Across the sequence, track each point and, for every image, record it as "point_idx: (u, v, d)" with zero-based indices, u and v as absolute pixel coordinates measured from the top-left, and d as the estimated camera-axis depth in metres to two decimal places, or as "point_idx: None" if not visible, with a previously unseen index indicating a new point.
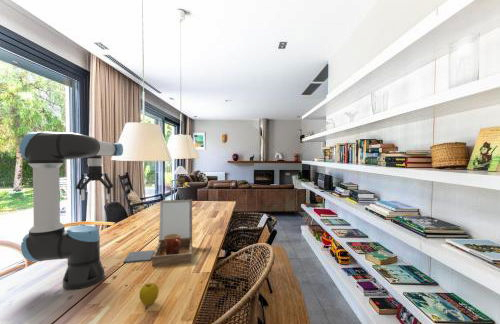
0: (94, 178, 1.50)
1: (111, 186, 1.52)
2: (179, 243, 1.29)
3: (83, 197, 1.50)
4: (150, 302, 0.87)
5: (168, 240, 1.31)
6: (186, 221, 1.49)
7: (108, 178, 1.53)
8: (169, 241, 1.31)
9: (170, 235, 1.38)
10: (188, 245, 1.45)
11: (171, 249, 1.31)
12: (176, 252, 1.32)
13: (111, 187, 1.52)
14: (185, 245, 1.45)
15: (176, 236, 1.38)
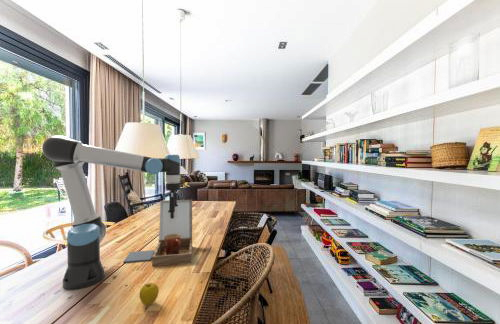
0: None
1: (169, 210, 1.24)
2: (179, 243, 1.29)
3: None
4: (150, 302, 0.87)
5: (168, 240, 1.31)
6: (186, 221, 1.49)
7: (172, 199, 1.26)
8: (169, 241, 1.31)
9: (170, 235, 1.38)
10: (188, 245, 1.45)
11: (171, 249, 1.31)
12: (176, 252, 1.32)
13: (169, 211, 1.24)
14: (185, 245, 1.45)
15: (176, 236, 1.38)
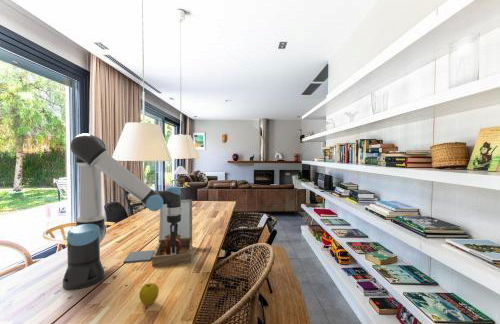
0: None
1: (170, 245, 1.26)
2: (179, 243, 1.29)
3: None
4: (150, 302, 0.87)
5: (168, 240, 1.30)
6: (186, 221, 1.49)
7: (173, 234, 1.27)
8: (169, 241, 1.30)
9: (170, 235, 1.37)
10: (188, 245, 1.45)
11: None
12: (176, 252, 1.32)
13: (170, 246, 1.26)
14: (185, 245, 1.45)
15: (176, 236, 1.38)
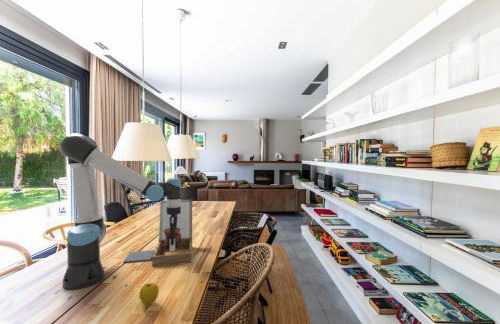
0: None
1: (169, 237, 1.26)
2: (180, 236, 1.29)
3: None
4: (150, 302, 0.87)
5: (168, 233, 1.30)
6: (186, 221, 1.49)
7: (172, 226, 1.27)
8: (169, 234, 1.30)
9: (169, 229, 1.37)
10: (188, 245, 1.45)
11: None
12: (176, 245, 1.32)
13: None
14: (185, 245, 1.45)
15: (175, 230, 1.37)
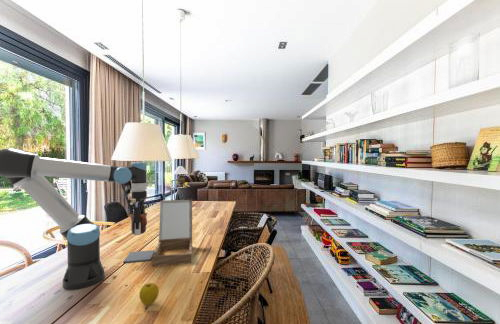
0: None
1: (133, 221, 1.24)
2: (145, 220, 1.27)
3: None
4: (150, 302, 0.87)
5: (133, 217, 1.28)
6: (186, 221, 1.49)
7: (136, 210, 1.25)
8: None
9: None
10: (188, 245, 1.45)
11: None
12: (142, 230, 1.30)
13: (133, 222, 1.24)
14: (185, 245, 1.45)
15: (142, 214, 1.35)
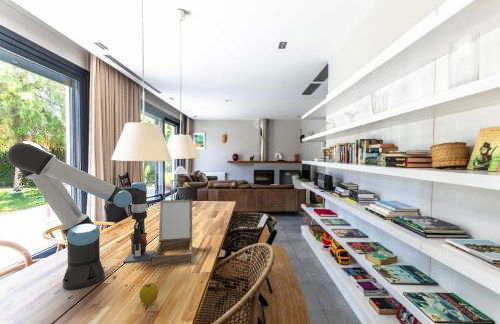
0: None
1: None
2: (145, 241, 1.27)
3: None
4: (150, 302, 0.87)
5: (133, 238, 1.28)
6: (186, 221, 1.49)
7: (136, 231, 1.25)
8: None
9: None
10: (188, 245, 1.45)
11: None
12: (142, 250, 1.30)
13: (133, 243, 1.24)
14: (185, 245, 1.45)
15: (142, 234, 1.35)
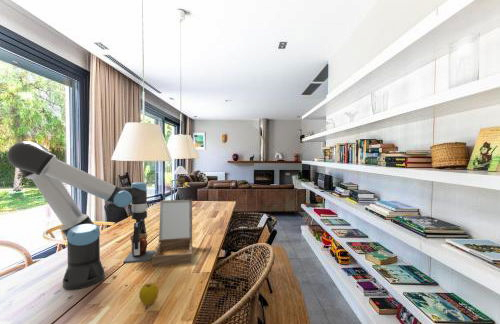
0: None
1: (132, 241, 1.22)
2: (145, 243, 1.28)
3: None
4: (150, 302, 0.87)
5: None
6: (186, 221, 1.49)
7: (136, 230, 1.24)
8: None
9: None
10: (188, 245, 1.45)
11: None
12: (142, 252, 1.31)
13: (132, 242, 1.22)
14: (185, 245, 1.45)
15: (143, 236, 1.36)
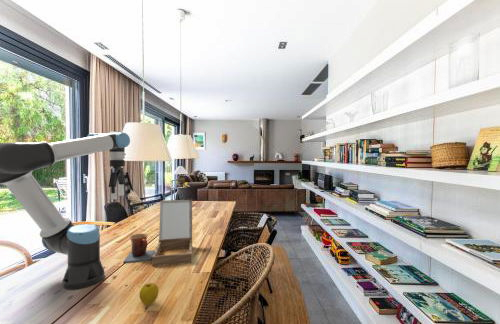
0: None
1: (109, 184, 1.26)
2: (145, 243, 1.28)
3: (120, 192, 1.43)
4: (150, 302, 0.87)
5: (134, 240, 1.29)
6: (186, 221, 1.49)
7: (113, 174, 1.29)
8: (135, 241, 1.29)
9: (137, 235, 1.36)
10: (188, 245, 1.45)
11: (137, 249, 1.29)
12: (142, 252, 1.31)
13: (109, 185, 1.27)
14: (185, 245, 1.45)
15: (143, 236, 1.36)
